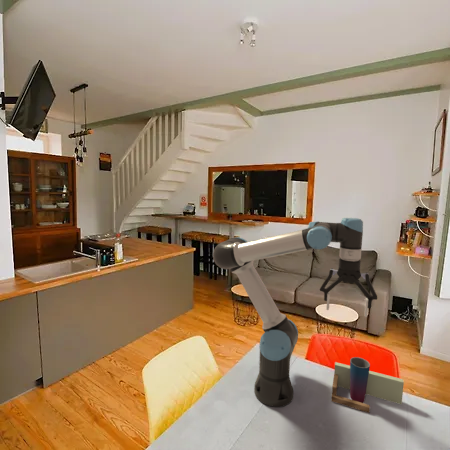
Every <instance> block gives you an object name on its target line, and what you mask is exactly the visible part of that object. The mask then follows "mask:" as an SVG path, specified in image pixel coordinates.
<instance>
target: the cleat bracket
mask: <svg viewBox="0 0 450 450" xmlns="http://www.w3.org/2000/svg"><path fill="white" fill-rule="evenodd" d="M338 387H339V386H338V375H337V374H334V373H333V380H332V387H331V400H330V401H331V402H333V403H335V404H336V403H337V404H340V405H342V406H345V407H347V408H352V409H355V410H359V411H361V412H365V413H368V414H370V410H371V405H370V404H367V403H365V402H364V403H361V402H358V401H354V400H352V399H351V398H348V397H344V396H341V395H338V394H337V392H338Z"/></svg>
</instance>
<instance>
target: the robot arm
mask: <svg viewBox="0 0 450 450" xmlns="http://www.w3.org/2000/svg"><path fill="white" fill-rule="evenodd" d="M363 234H364V221H363V220H362V218H358V217H343V218H342V219H341V220H340V222H326V221H310V222H309V223H308V225H307V228H303V229H299V230H294V231H290V232H286V233H282V234H278V235H273V236H268V237H266V238H265V237H264V238H259V239H256V240H252V241H247V240H246V239H245V238H243V237H239V236H238V237H231V238H229V239H227V240H225V241H221V242H219V243H218V244H217V245H216V246H215V248H214V249H213V253H212V258H213V261H214V263H215V265H216V266H218V267H219V268H220V269H223V270H230V272H231V273H232V274H235V275H236V276H237V278H238V280H239V281H240V283H241V284H242V285H241V286H242V287H243V288H244V290H245V292H246V294H247V296H248V298H249V299H250V301H251V303H252V304H253V307H254V308H255V310H256V312H257V314H258V316H259V318H260V319H261V321H262V327H261V328H262V330H263V332H264V333H263V334H262V335H261V337H260V339H259V340H260V341H259V345H258V346H259V361H258V364H259V370H258V371H259V372H258V375H257V377H256V379H255V383H254V386H253V387H254V391H253V392H254V396H255V397H256V399H257V400H258V401H260V402H261V403H262V404H263V405H266V406H269V407H272V408H280V407H285V406H287V405H289V404H290V403H291V402H292V401H293V399H294V388H293V384H292V381H291V378H290V369H291V367H290V365H291V358H292V355H293V351H294V349H295V347H296V345H297V343H298V339H299V330H298V327H297V325H296V323H294V322H293V321H292V320H291V319H289V318H288V317H287V315H286V313H282V312H280V310H279V308H278V306H277V304H276V303H275V301H274V299H273V298H272V295H271V294H270V292H269V291H268V289H267V287H266V285H265V283H264V282H263V280H262V278H261V276H260V274H259V273H258V271H257V269H256V268H255V266H254V262H255V261H258V260H264V259H268V258H270V259H271V258H274V257H279V256H283V255H287V254H294V253H298V252H299V253H300V252H304V251H309V250H323V249H326V248H327V247H328V246H329V245H330V244H331V243H336V244H337V243H339V256H338V257H339V259H338V269H334V268H330V270H329V273H328V275H327V277H326V279H325V280H324V282H323V283H322V284H321V286H320V287H319V291H320V292H323V293H324V294H323V295H324V296H323V300H324V302H326V309H325V310H327V311H329V309H330V301H331V299H330V298H331V290H333V289H334V288H335V287H336V286H338V284H340V283H341V282H342V283H344V284H351V285H353V284H355V285H356V287H358V288H359V290H360V291H361V292H362V293H363V295H364V296H365V306H364V318H368V309H371V308H372V301H373V300H378V295H377V293H376V290H375V288H374V286H373V284H372V282H371V280H370V274H369V272H365V273H363V272H362V273H361V263H362V262H361V258H362V244H363V236H364V235H363ZM335 275H337V276H338V277H337V278H336V279H335V280H334V281H333V282H332V283H330V284H329V285H328V286H327V284H328V283H329V282H330V280H331V279H332V276H335ZM361 277H362V279H363V280H365V282H366V284H367V287H368V289H369V291H370V292H369V291H368V289H366V287H365V286H364V285H363V284H362V283H361V281H360V278H361ZM326 286H327V287H326Z"/></svg>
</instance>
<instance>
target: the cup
mask: <svg viewBox="0 0 450 450" xmlns="http://www.w3.org/2000/svg"><path fill="white" fill-rule="evenodd" d="M349 360H350V361H349V363H350V364H349V366H350V390H349V393H350V394H349V397H350V398H349V399H351V400H354V401H358V402H361V403H364V404H365V400H366V395H367V394H366V388H367V382H368V375H369V371H370V367H371V363H370V362H369V361H368V360H367V359H364V358H363V357H359V356H357V357H356V356H355V357H354V356H353V357H351V358H350V359H349Z"/></svg>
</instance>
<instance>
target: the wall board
mask: <svg viewBox="0 0 450 450" xmlns="http://www.w3.org/2000/svg"><path fill="white" fill-rule="evenodd" d="M333 372H334V373H333V375H334V374H337V375H338V386H337V387H338V388H344V389H347V390H349V391H350V364H345V363H340V362H337V361H335V362H334V371H333ZM404 382H405V381H404V378H403V379H402V378H401V377H395V376H392V375H389V374H388V375H387V374H384V373H380V372H375V371H372V370H369V375H368V382H367V388H366V395H367V396H371V397H374V398H378V399H381V400H384V401H388V402H391V403H393V404H394V403H395V404H398V405H403V395H404V394H403V393H404V385H405V384H404Z"/></svg>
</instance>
